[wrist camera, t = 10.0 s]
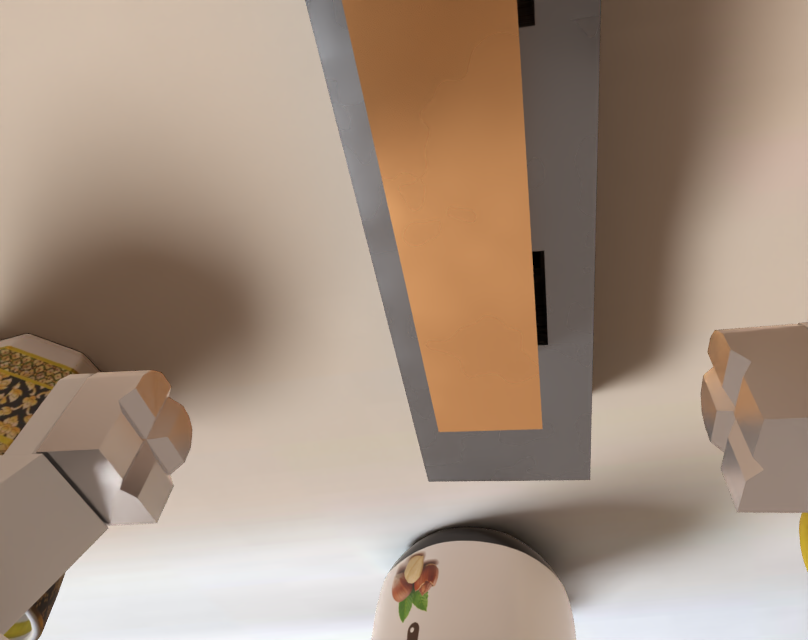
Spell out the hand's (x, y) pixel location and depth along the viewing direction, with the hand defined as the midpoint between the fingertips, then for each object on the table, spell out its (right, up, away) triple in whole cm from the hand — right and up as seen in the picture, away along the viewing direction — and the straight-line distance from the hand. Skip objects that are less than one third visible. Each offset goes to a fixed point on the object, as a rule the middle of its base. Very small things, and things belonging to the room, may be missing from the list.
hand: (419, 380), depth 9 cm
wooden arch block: (+2, +7, +9) cm, 11 cm away
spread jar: (+4, -14, +27) cm, 31 cm away
